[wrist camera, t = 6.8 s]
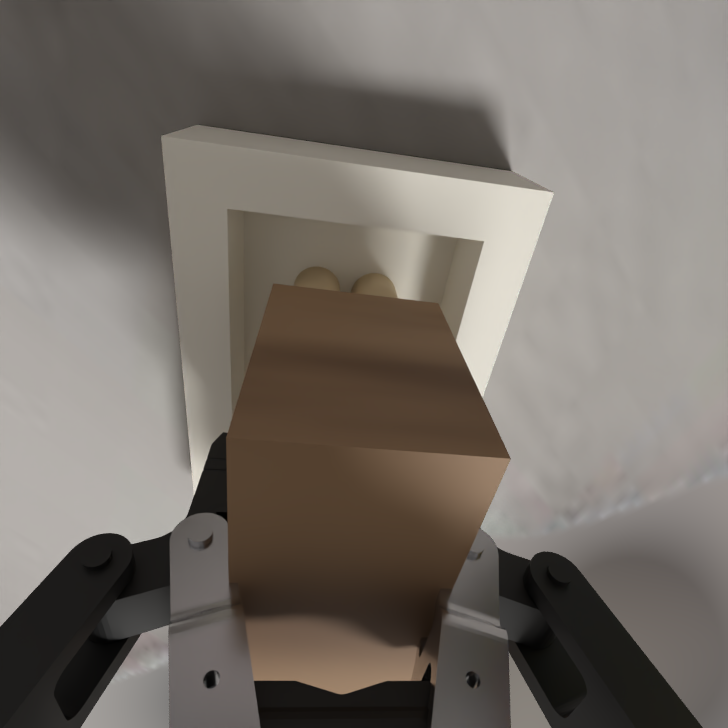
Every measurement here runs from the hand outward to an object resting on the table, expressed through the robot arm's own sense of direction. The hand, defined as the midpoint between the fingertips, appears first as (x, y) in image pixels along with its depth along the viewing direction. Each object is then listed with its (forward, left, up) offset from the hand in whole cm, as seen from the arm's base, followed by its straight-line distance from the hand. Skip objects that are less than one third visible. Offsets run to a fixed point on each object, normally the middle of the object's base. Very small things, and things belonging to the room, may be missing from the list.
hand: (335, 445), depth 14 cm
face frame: (0, 0, -5) cm, 5 cm away
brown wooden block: (0, 0, -1) cm, 1 cm away
